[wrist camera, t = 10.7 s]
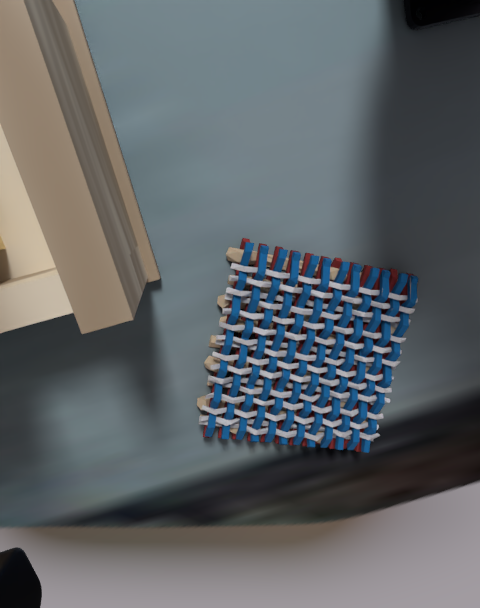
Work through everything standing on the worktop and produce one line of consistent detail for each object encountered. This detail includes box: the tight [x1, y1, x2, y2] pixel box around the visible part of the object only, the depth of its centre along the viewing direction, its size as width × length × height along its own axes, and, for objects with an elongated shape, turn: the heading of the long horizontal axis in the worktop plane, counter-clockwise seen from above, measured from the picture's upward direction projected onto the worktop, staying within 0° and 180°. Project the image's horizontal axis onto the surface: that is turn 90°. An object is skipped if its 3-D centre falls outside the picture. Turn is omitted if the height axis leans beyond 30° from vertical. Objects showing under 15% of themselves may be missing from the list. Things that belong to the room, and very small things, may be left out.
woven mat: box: [197, 238, 418, 453], centre depth 21 cm, size 10×11×2 cm
